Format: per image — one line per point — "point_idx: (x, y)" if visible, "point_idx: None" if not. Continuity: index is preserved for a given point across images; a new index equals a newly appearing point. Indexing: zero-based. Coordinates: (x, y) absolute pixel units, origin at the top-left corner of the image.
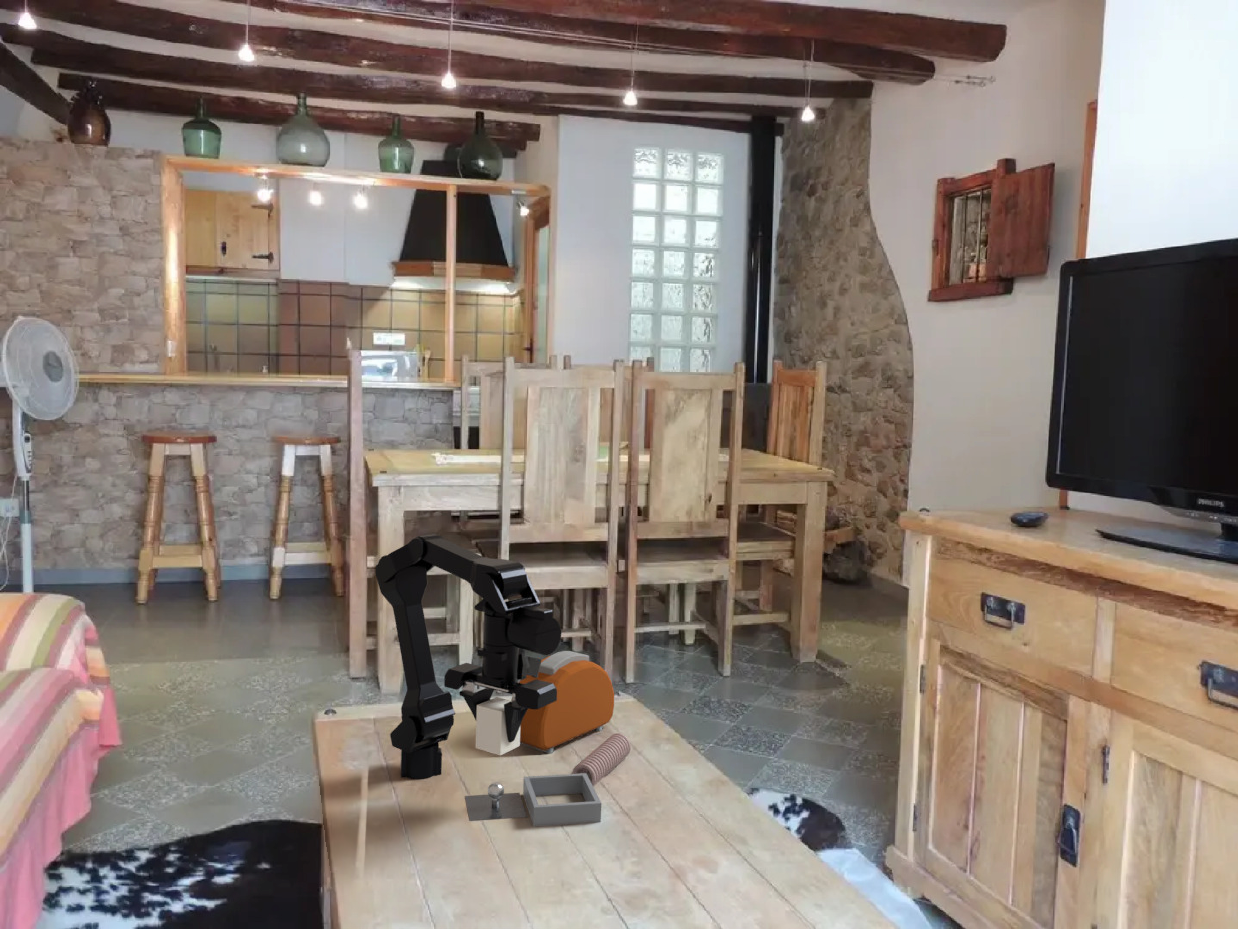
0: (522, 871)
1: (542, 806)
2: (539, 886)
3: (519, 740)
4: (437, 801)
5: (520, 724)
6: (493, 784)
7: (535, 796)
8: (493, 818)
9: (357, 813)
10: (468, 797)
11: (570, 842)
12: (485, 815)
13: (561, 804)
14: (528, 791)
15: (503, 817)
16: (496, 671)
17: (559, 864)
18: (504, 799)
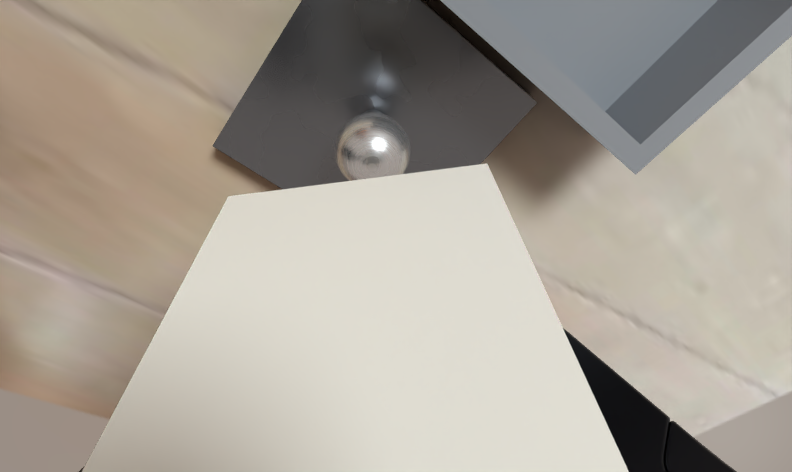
0: (679, 300)
1: (664, 145)
2: (752, 317)
3: (495, 191)
4: (153, 198)
5: (636, 393)
6: None
7: (580, 89)
8: None
9: (105, 379)
10: (233, 145)
11: (750, 91)
12: None
13: (740, 67)
14: (512, 64)
15: None
16: None
17: (765, 218)
18: (351, 51)
